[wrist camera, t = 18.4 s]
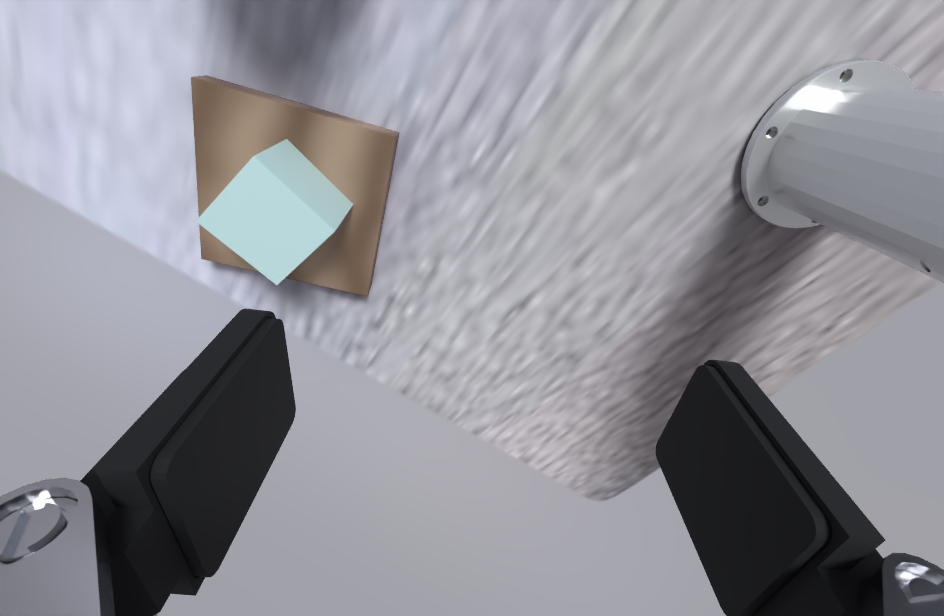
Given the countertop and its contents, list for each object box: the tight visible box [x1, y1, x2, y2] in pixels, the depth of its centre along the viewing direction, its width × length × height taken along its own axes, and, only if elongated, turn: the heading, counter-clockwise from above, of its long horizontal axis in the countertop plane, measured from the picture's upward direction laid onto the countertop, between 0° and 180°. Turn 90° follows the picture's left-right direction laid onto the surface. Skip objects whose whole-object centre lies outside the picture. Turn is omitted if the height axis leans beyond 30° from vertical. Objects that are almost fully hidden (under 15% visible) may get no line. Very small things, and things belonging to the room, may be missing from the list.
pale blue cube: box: [196, 139, 353, 285], centre depth 30 cm, size 6×6×6 cm
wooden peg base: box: [191, 76, 399, 296], centre depth 32 cm, size 14×14×6 cm
